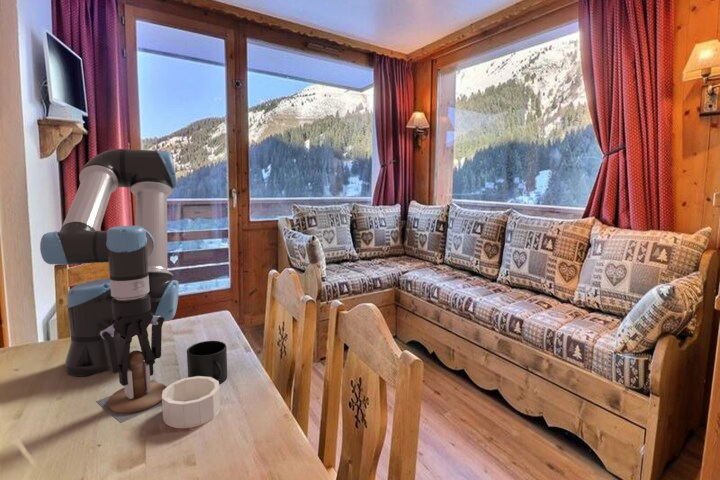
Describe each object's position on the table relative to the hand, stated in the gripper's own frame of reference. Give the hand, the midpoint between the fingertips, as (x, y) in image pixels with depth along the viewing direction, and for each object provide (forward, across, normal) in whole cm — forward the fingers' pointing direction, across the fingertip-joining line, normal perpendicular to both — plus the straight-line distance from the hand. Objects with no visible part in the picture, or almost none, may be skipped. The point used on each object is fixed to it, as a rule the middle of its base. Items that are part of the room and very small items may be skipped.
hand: (138, 392), depth 93 cm
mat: (+2, 0, 0) cm, 2 cm away
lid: (+2, 0, 0) cm, 2 cm away
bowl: (+2, +5, -14) cm, 15 cm away
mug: (+2, +15, -5) cm, 16 cm away
